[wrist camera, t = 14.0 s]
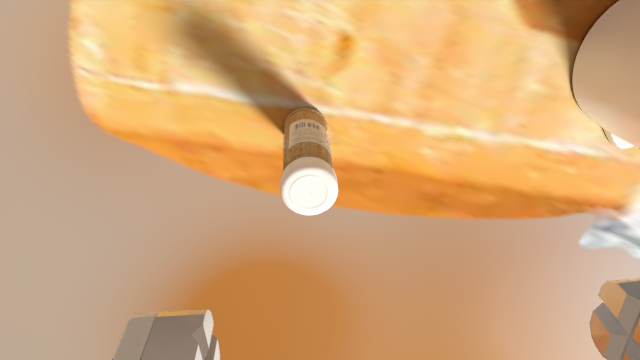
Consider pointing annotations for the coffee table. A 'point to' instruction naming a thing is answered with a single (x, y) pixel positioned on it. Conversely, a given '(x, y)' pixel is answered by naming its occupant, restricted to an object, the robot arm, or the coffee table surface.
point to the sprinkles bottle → (307, 163)
